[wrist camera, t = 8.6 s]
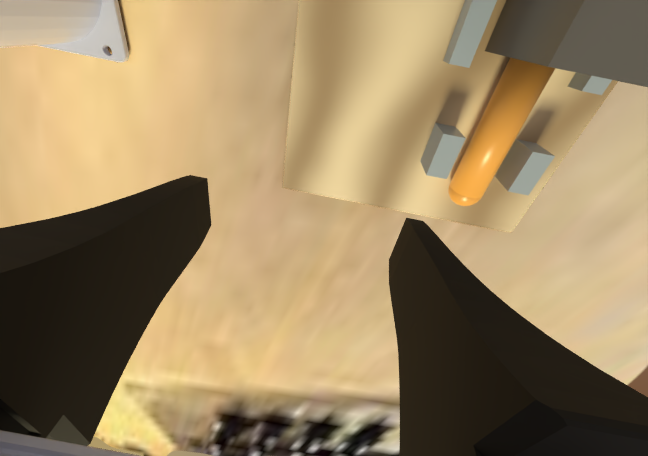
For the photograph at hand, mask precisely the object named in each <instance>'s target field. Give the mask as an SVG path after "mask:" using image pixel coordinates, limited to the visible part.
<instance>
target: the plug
mask: <svg viewBox="0 0 648 456" xmlns="http://www.w3.org/2000/svg"><path fill="white" fill-rule="evenodd" d="M485 51H486V52H490V53H494V54H498V55H502V56H506V57H510V59H509V61H508V63H507V65H506V68H505V70H504V72H503V74H502V76H501V78H500V80H499V82H498V84H497V86H496V88H495V91H494V93H493V95H492V97H491V99H490V101H489V103H488V105H487V107H486V109H485V111H484V114H483V116H482V118H481V120H480V122H479V124H478V126H477V128H476V130H475V132H474V134H473V137H472V139H471V141H470V143H469V145H468V147H467V149H466V151H465V153H464V155H463V158H462V160H461V162H460V164H459V166H458V168H457V170H456V172H455V174H454V176H453V178H452V181H451V183H450V185H449V189H448V193H449V196H450V198H451V200H452V201H453V202H454V203H456V204H457V205H460V206H470V205H473V204H475V203H477V202H478V201H479V200H480V199H481V198H482V196H483V195H484V193H485V191H486V189H487V188H488V186H489V184H490V182H491V181H492V179H493V177H494V175H495V174H496V172H497V170H498V168H499V167H500V165H501V163H502V161H503V160H504V158H505V156H506V154H507V153H508V151H509V149H510V147H511V146H512V144H513V142H514V140H515V139H516V137H517V135H518V133H519V132H520V130H521V128H522V126H523V125H524V123H525V121H526V119H527V118H528V116H529V114H530V112H531V111H532V109H533V107H534V105H535V104H536V102H537V100H538V98H539V97H540V95H541V93H542V91H543V90H544V88H545V86H546V84H547V82H548V81H549V79H550V77H551V75H552V74H553V72H554V70H555V68H557V69H562V70H566V71H571V72H576V73H581V74H586V75H591V76H596V77H601V78H606V79H611V80H615V81H620V82H625V83H630V84H635V85H640V86H645V87H648V0H506V2H505V4H504V7H503V9H502V11H501V14H500V16H499V18H498V21H497V23H496V25H495V28H494V30H493V33H492V35H491V37H490V40H489V42H488V44H487V47H486V49H485Z"/></svg>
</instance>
